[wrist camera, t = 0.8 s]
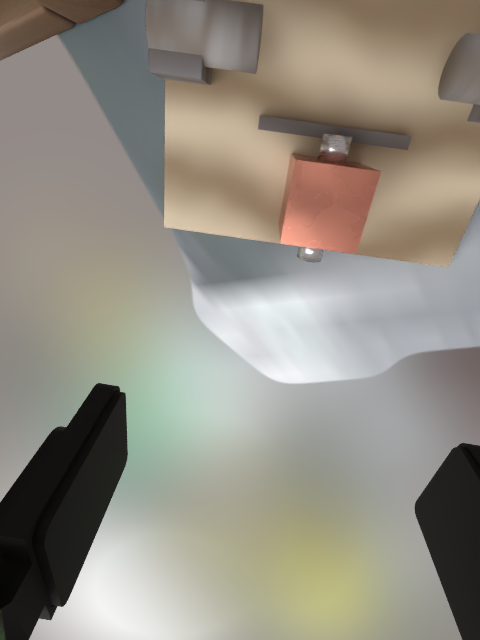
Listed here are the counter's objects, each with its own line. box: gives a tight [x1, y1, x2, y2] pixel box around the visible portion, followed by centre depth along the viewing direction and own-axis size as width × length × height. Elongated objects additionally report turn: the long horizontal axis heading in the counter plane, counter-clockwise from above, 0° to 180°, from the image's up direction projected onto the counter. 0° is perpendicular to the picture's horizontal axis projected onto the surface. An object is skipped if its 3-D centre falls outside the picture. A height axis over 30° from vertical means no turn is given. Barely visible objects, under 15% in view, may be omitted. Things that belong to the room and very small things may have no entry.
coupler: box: [278, 133, 381, 262], centre depth 23 cm, size 5×8×5 cm, turn 173°
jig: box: [145, 0, 480, 267], centre depth 21 cm, size 18×23×5 cm
